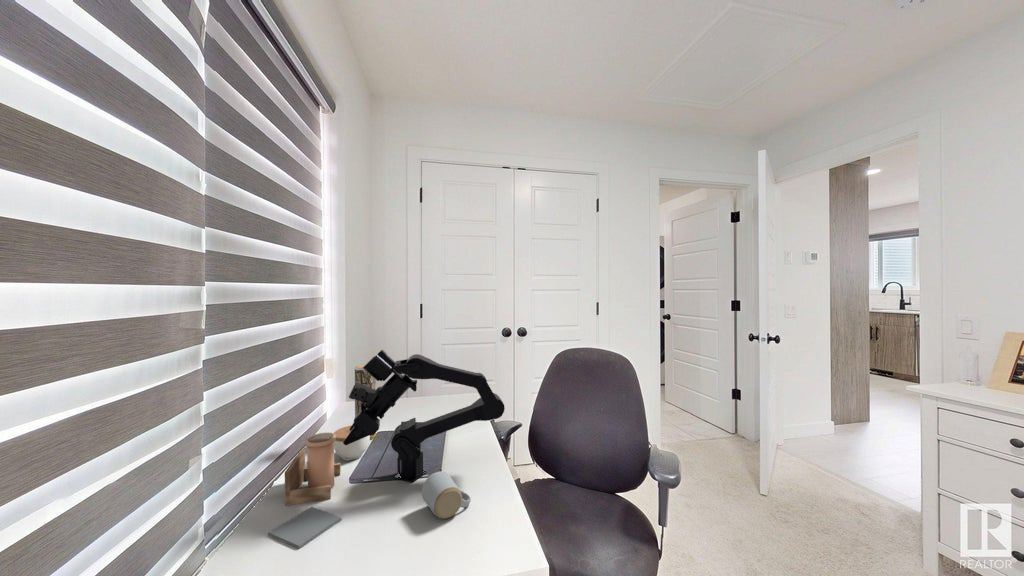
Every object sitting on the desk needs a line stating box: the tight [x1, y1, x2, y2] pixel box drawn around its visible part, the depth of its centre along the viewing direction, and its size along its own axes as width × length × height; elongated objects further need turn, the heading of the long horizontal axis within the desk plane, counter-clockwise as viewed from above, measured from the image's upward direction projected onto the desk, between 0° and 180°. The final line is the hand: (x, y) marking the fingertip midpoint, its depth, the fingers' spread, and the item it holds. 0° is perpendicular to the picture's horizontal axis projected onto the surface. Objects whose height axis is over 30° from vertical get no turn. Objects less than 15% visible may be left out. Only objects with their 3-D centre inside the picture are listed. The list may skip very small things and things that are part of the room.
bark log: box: [354, 364, 377, 440], centre depth 128 cm, size 7×7×25 cm
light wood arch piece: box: [284, 448, 342, 506], centre depth 96 cm, size 10×13×8 cm
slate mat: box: [267, 506, 342, 550], centre depth 80 cm, size 10×10×1 cm
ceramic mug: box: [421, 471, 472, 520], centre depth 86 cm, size 11×8×8 cm
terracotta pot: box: [304, 432, 336, 490], centre depth 96 cm, size 7×7×13 cm
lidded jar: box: [333, 425, 371, 461], centre depth 114 cm, size 11×11×9 cm
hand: (347, 437), depth 98 cm, fingers open, 9 cm apart
